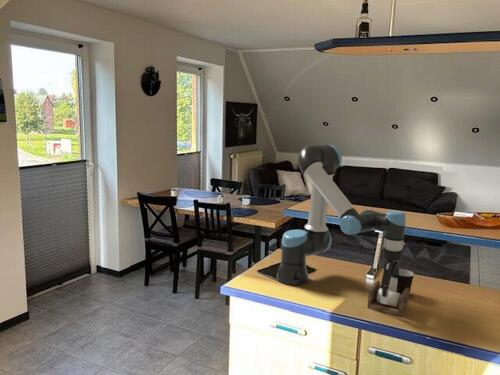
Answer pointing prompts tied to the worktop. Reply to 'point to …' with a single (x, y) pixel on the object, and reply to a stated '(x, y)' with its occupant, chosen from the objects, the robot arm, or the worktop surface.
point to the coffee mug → (404, 280)
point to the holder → (385, 308)
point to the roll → (390, 298)
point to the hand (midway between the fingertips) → (388, 297)
